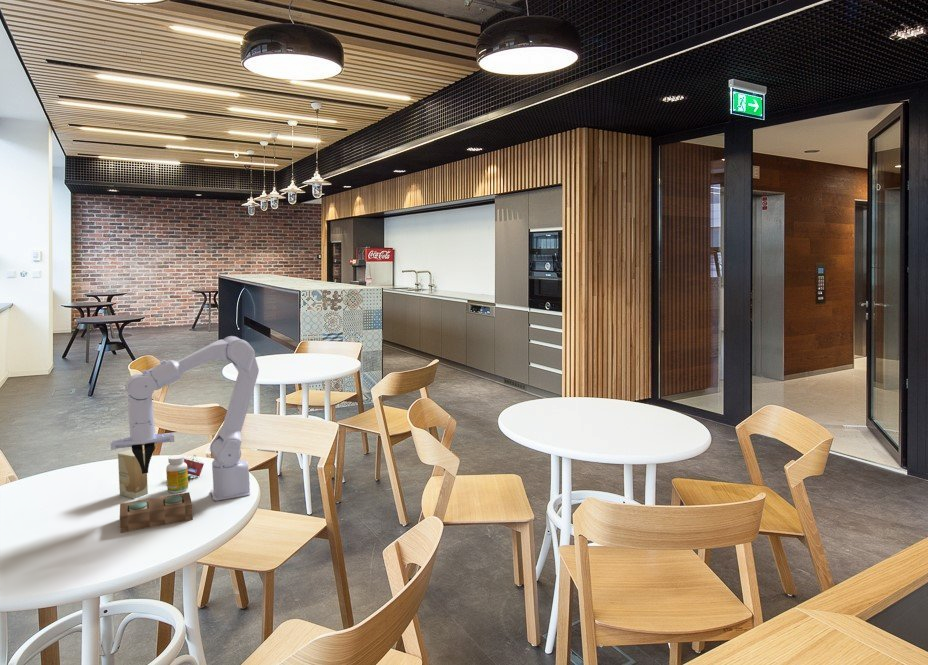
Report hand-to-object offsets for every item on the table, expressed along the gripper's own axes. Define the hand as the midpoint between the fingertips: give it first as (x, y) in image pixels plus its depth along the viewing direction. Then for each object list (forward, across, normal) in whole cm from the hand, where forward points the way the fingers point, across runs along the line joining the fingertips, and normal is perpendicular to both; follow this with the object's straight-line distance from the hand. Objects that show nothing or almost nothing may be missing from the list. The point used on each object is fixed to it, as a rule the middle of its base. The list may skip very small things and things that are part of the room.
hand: (145, 472), depth 160 cm
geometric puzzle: (+11, -12, -21) cm, 26 cm away
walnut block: (+10, -2, +7) cm, 13 cm away
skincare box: (+11, +3, -14) cm, 18 cm away
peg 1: (+10, +2, +7) cm, 12 cm away
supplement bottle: (+11, -8, -12) cm, 18 cm away
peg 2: (+10, -6, +7) cm, 14 cm away
